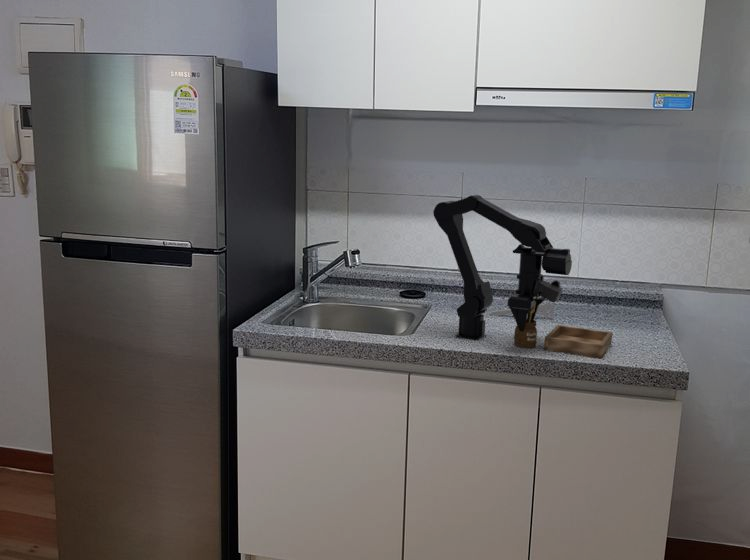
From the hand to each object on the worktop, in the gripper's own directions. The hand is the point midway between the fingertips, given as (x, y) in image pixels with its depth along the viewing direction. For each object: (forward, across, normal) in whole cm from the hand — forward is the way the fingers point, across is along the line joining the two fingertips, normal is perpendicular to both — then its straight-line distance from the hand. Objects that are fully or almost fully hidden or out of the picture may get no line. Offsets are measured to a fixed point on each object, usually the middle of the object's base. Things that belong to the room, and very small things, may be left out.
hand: (526, 327), depth 198 cm
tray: (+5, +6, -13) cm, 15 cm away
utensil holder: (+5, 0, 0) cm, 5 cm away
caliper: (+6, +31, +10) cm, 33 cm away
